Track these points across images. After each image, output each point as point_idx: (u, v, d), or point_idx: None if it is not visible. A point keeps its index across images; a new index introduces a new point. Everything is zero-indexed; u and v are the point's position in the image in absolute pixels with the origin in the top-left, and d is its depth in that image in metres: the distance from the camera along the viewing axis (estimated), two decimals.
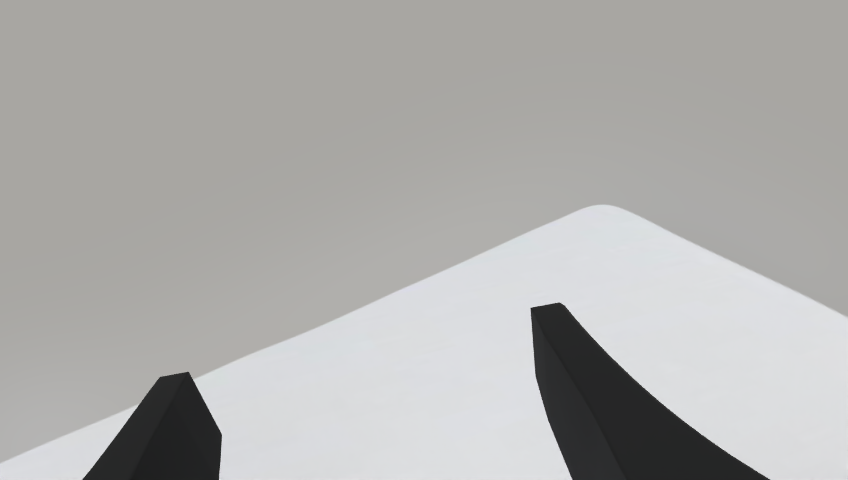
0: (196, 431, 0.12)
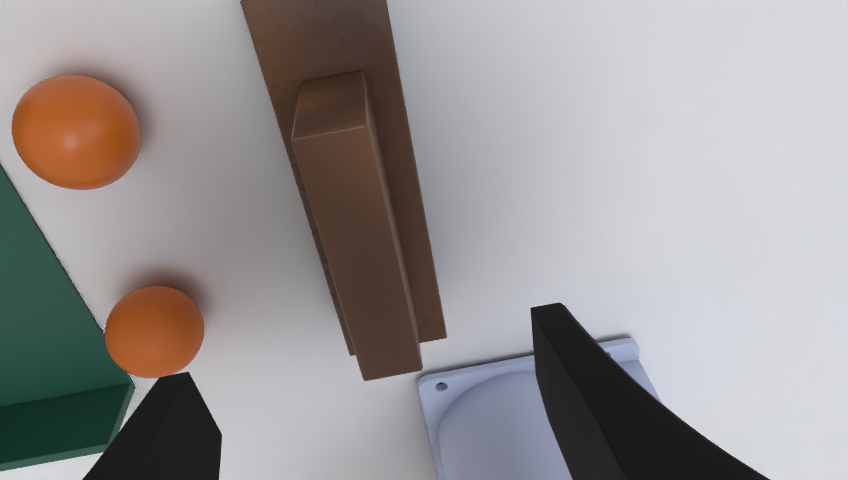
0: (196, 431, 0.12)
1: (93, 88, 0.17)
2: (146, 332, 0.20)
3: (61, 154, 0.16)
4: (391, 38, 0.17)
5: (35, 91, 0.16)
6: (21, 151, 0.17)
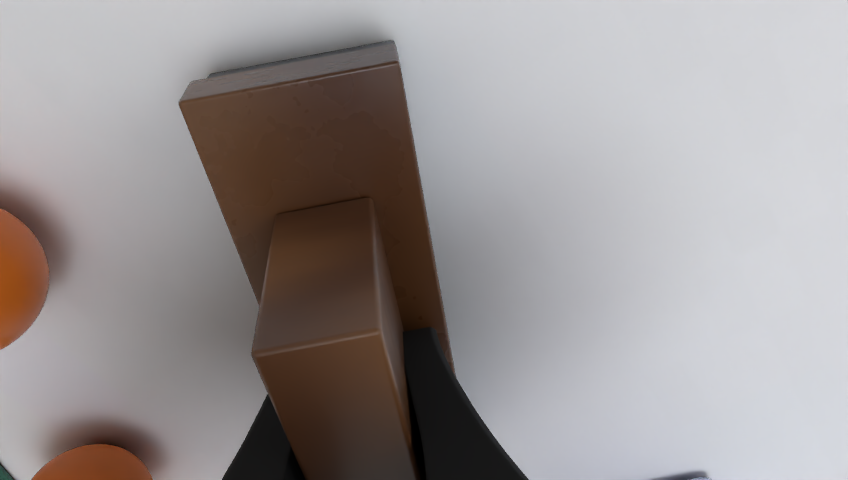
0: None
1: None
2: None
3: None
4: (413, 151, 0.11)
5: None
6: None
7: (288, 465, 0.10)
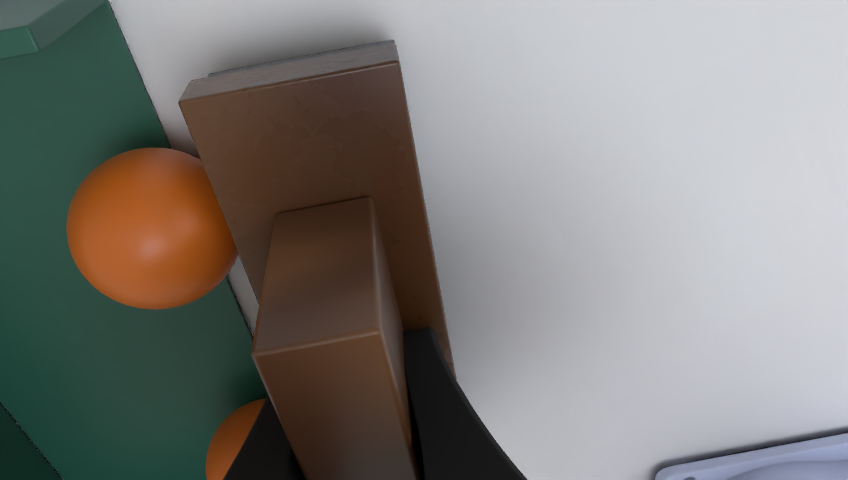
0: None
1: (77, 198, 0.11)
2: (210, 444, 0.16)
3: None
4: (413, 151, 0.11)
5: (131, 150, 0.12)
6: None
7: (289, 464, 0.10)
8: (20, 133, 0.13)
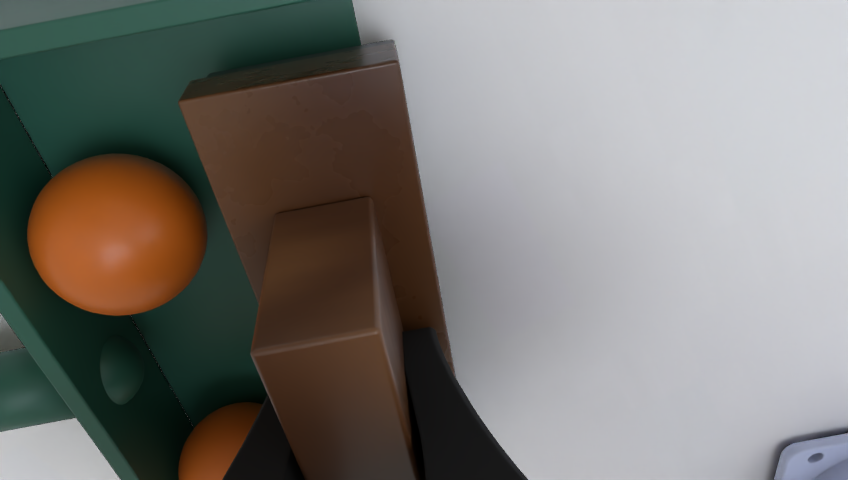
0: None
1: (148, 161, 0.12)
2: None
3: (161, 254, 0.11)
4: (412, 151, 0.11)
5: (80, 183, 0.11)
6: (90, 273, 0.11)
7: (288, 464, 0.10)
8: None
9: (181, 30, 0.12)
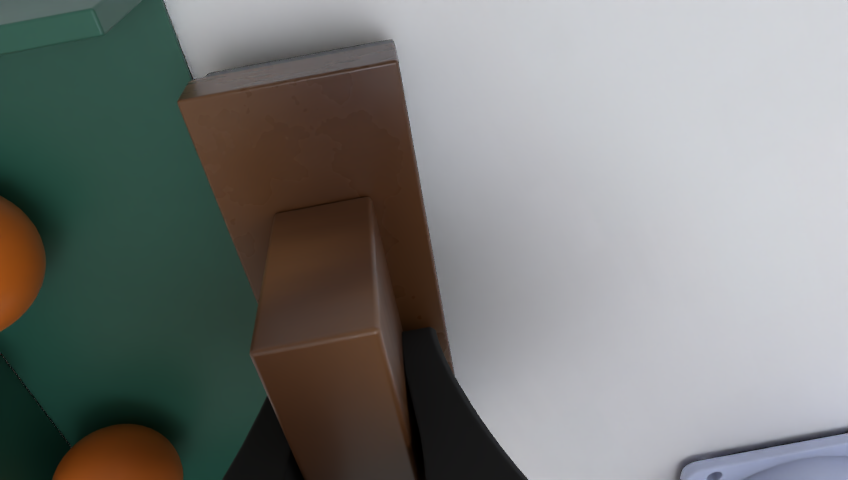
0: None
1: None
2: (151, 454, 0.16)
3: None
4: (412, 150, 0.11)
5: None
6: None
7: (288, 464, 0.10)
8: (64, 121, 0.13)
9: (2, 60, 0.12)
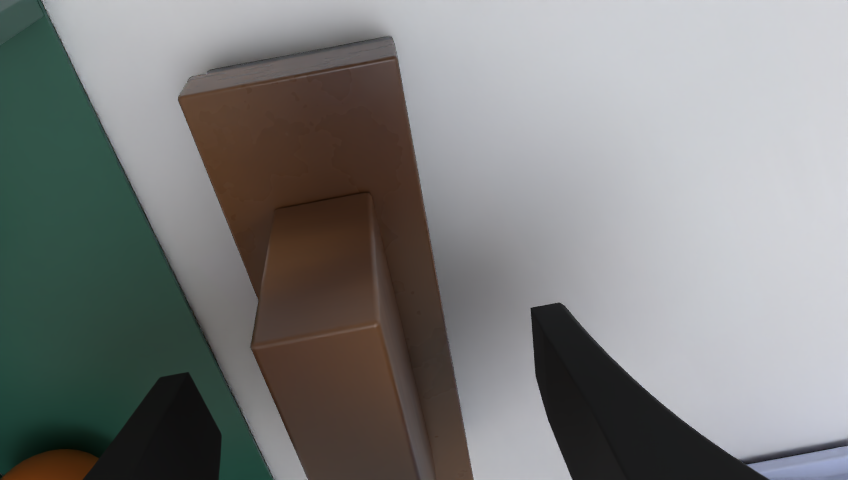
0: (196, 431, 0.12)
1: None
2: None
3: None
4: (411, 146, 0.11)
5: None
6: None
7: None
8: None
9: None
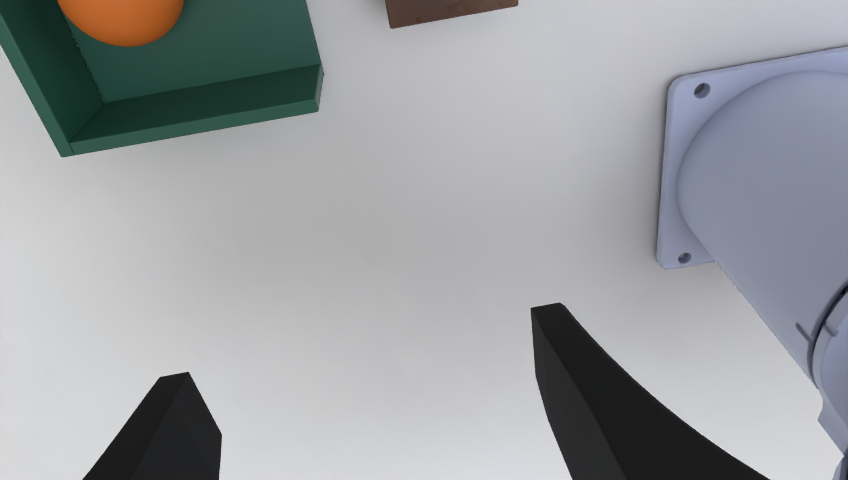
0: (196, 431, 0.12)
1: None
2: None
3: None
4: None
5: None
6: None
7: None
8: None
9: None
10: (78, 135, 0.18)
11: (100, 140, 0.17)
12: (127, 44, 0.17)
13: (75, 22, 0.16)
